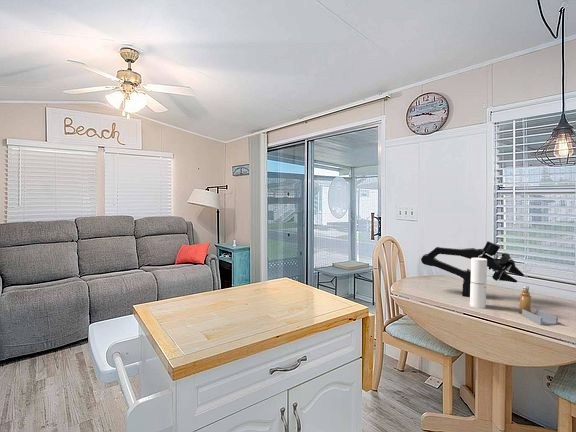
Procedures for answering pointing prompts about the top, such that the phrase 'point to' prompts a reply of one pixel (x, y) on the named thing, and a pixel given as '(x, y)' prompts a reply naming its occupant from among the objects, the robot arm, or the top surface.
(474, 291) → the cylindrical container
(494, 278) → the robot arm
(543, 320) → the grey cradle
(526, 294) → the amber bottle
